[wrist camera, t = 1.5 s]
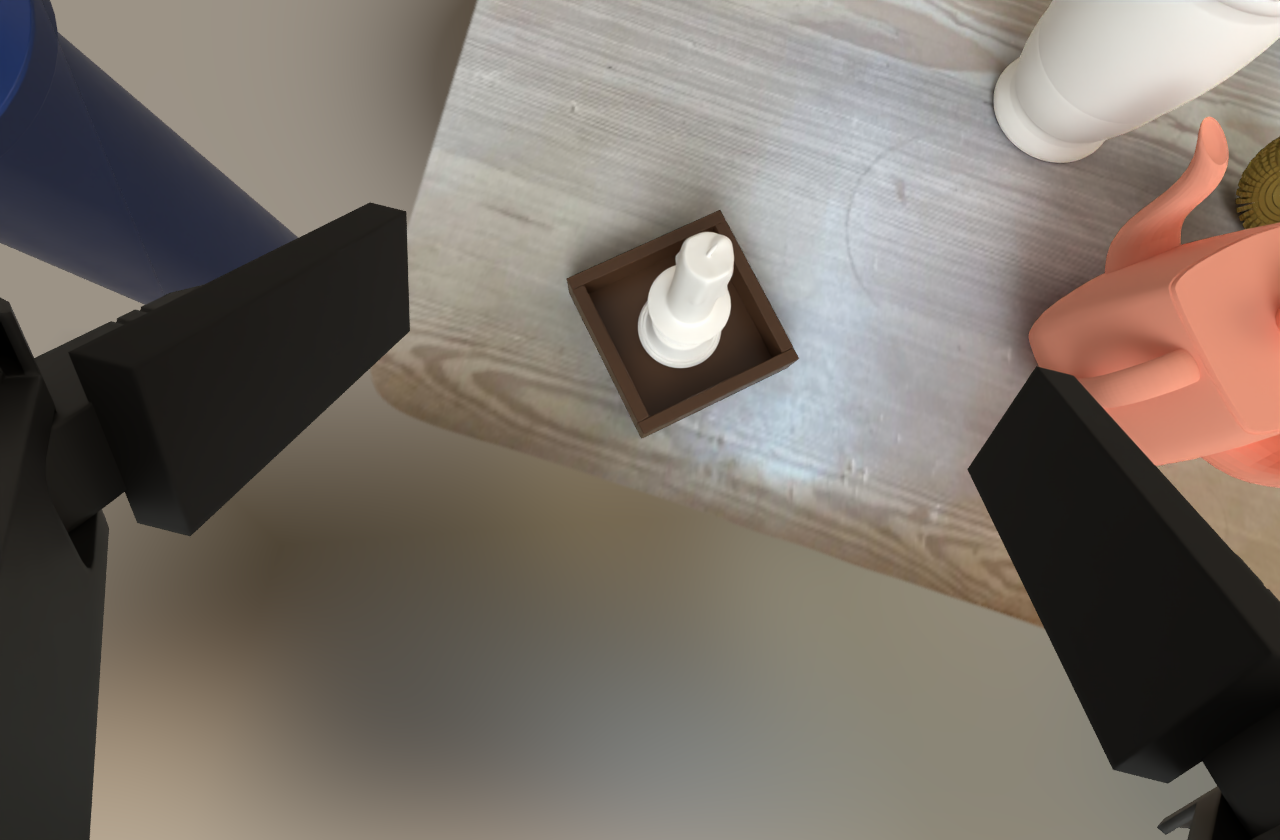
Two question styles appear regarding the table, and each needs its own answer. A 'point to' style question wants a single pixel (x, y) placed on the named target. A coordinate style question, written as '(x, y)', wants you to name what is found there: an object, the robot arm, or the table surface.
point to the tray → (656, 389)
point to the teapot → (1181, 332)
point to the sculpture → (1261, 188)
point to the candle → (689, 303)
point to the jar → (1122, 67)
